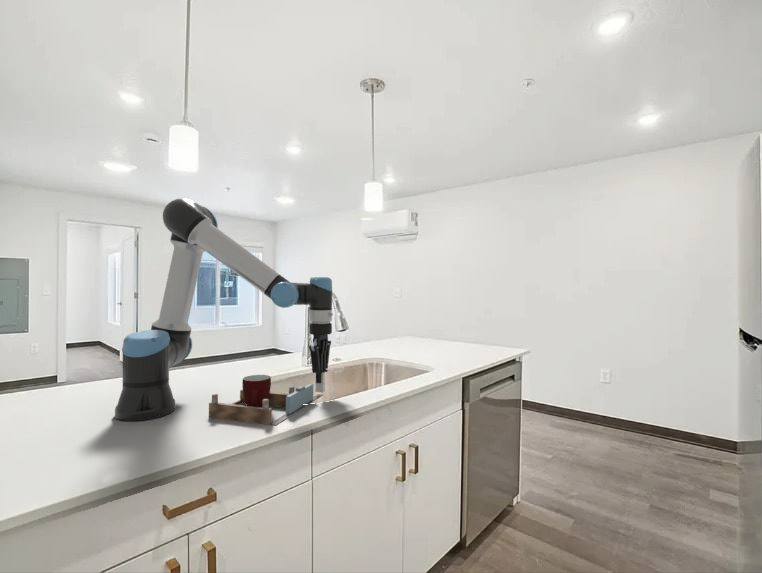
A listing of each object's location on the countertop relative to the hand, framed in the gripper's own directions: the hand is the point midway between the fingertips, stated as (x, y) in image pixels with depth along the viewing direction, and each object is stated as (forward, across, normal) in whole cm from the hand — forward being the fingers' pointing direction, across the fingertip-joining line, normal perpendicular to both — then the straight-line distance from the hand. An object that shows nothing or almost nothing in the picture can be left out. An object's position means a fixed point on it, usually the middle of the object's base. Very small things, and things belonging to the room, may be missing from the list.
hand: (320, 391), depth 132 cm
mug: (+2, -21, +10) cm, 24 cm away
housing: (+2, -14, +10) cm, 17 cm away
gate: (+1, -13, 0) cm, 13 cm away
